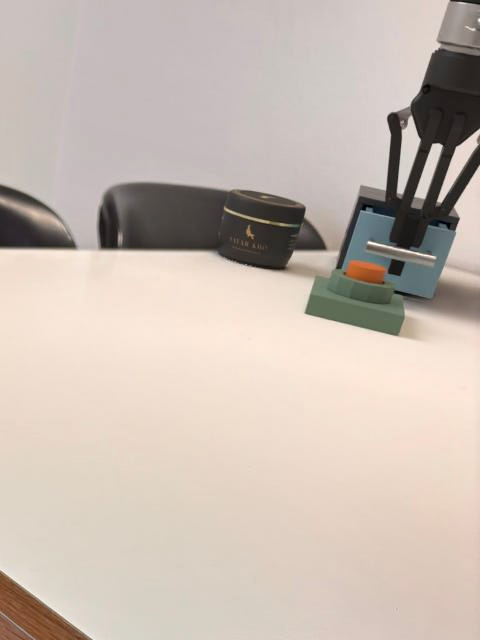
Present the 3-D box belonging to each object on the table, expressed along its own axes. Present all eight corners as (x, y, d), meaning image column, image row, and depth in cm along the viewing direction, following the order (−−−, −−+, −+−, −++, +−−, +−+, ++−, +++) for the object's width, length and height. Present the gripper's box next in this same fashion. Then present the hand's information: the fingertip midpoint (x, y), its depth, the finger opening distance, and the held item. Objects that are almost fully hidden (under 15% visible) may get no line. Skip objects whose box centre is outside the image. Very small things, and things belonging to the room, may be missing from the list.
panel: (397, 336, 113) (411, 298, 111) (304, 314, 115) (316, 276, 113) (395, 314, 123) (408, 279, 121) (310, 294, 125) (321, 259, 123)
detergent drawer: (434, 308, 126) (460, 239, 122) (337, 285, 128) (360, 217, 124) (427, 280, 142) (449, 219, 138) (342, 260, 144) (362, 199, 140)
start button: (381, 289, 115) (386, 272, 114) (344, 280, 116) (349, 263, 115) (380, 282, 118) (386, 266, 118) (345, 274, 119) (350, 258, 118)
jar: (204, 255, 134) (221, 191, 131) (221, 246, 143) (237, 185, 139) (282, 275, 132) (301, 210, 128) (294, 264, 140) (312, 203, 136)
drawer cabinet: (431, 295, 138) (460, 218, 133) (334, 272, 140) (359, 195, 135) (426, 277, 150) (453, 205, 145) (337, 256, 152) (360, 184, 147)
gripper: (409, 41, 115) (339, 266, 127) (534, 64, 112) (450, 291, 124) (407, 42, 121) (340, 256, 133) (526, 64, 119) (447, 280, 131)
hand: (394, 273), depth 129 cm, fingers closed
